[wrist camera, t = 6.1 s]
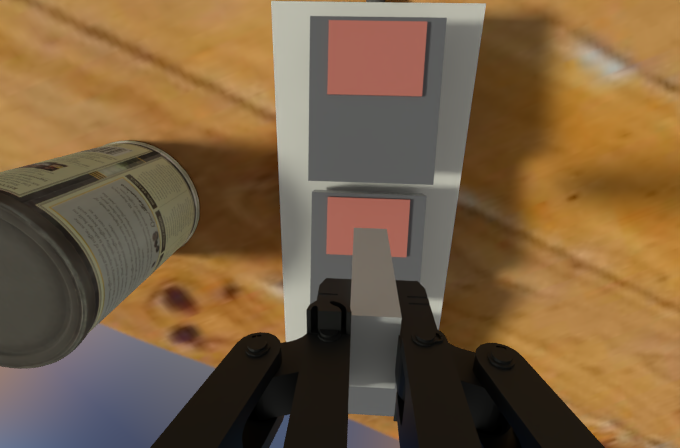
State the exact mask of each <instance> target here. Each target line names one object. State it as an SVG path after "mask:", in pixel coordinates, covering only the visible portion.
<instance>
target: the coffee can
mask: <svg viewBox="0 0 680 448" xmlns="http://www.w3.org/2000/svg"><path fill="white" fill-rule="evenodd" d="M199 209H200V207H199V199H198V195H197V192H196V189H195V187H194V184H193V182H192V181H191V179H190V177H189V175H188V174H187V172H186V171H185V170H184V169H183V168H182V167H181V166H180V164H179V163H178V162H177V161H176V160H174V159H173V158H172V157H171V156H170V155H168V154H167V153H165V152H164V151H162V150H160V149H159V148H156V147H154V146H152V145H149V144H147V143H142V142H137V141H118V142H113V143H109V144H106V145H104V146H102V147H98V148H94V149H90V150H85V151H81V152H78V153H74V154H70V155H66V156H62V157H58V158H54V159H50V160H47V161H43V162H39V163H35V164H32V165H27V166H23V167H19V168H15V169H11V170H7V171H4V172H0V366H2V367H9V368H36V367H41V366H45V365H48V364H52V363H54V362H57V361H59V360H61V359H62V358H64V357H65V356H67V355H68V354H70V353H71V352H72V351H73V350H75V349H76V347H77V346H78V345H79V344H80V343H81V342H82V340H84V338H85V337H86V335H87V334H88V333H89V332H90V331H91V330H92V329H93V328H94V327H95V326H96V325H97V324H98V323H100V322H101V321H102V320H103V319H104V318H105V317H106V316H107V315H108V314H109V313H110V312H111V311H112V310H113V309H115V308H116V307H117V306H118V305H119V304H120V303H121V302H122V301H123V300H124V299H125V298H126V297H127V296H128V295H129V294H131V293H132V292H133V291H134V290H135V289H136V288H137V287H138V286H139V285H140V284H141V283H142V282H143V281H144V280H146V279H147V278H148V277H149V276H150V275H151V274H152V273H153V272H154V271H155V270H156V269H157V268H158V267H159V266H160V265H162V264H163V263H164V262H165V261H166V260H167V259H168V258H169V257H170V256H171V255H172V254H173V253H174V252H175V251H176V250H177V249H179V248H180V247H182V246H183V245H184V244H185V243H186V242H187V241H188V240H189V239H190V238H191V237H192V235H193V233H194V232H195V230H196V227H197V224H198V221H199V214H200V212H199Z"/></svg>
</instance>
